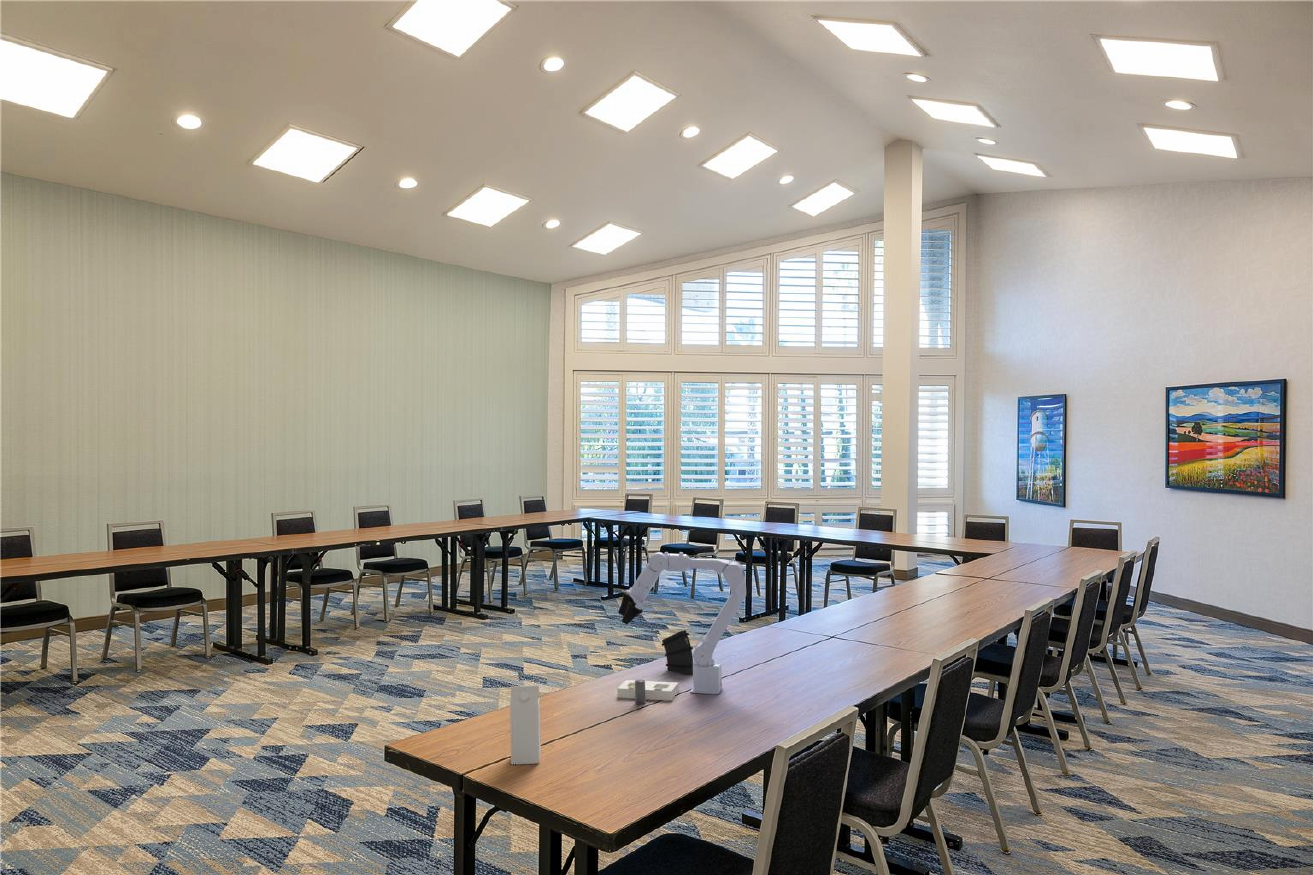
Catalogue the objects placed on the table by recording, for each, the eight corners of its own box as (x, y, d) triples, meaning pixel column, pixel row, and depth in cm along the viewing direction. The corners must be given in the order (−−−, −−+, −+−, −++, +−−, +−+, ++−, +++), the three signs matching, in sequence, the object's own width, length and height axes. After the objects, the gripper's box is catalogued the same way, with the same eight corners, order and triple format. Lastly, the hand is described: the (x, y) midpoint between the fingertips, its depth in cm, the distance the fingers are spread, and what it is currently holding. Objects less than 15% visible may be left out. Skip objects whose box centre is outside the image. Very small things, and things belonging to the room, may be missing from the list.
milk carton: (513, 755, 220) (512, 683, 221) (540, 753, 221) (539, 681, 221) (511, 765, 213) (509, 690, 214) (539, 763, 214) (537, 689, 214)
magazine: (694, 672, 293) (680, 631, 298) (670, 682, 302) (657, 642, 307) (701, 670, 296) (687, 629, 301) (677, 680, 304) (664, 640, 309)
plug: (646, 702, 265) (646, 679, 265) (643, 705, 262) (643, 682, 262) (636, 701, 266) (636, 679, 266) (634, 704, 263) (633, 682, 263)
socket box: (678, 691, 276) (678, 681, 276) (671, 700, 266) (671, 690, 266) (626, 688, 280) (626, 678, 280) (617, 697, 271) (617, 687, 271)
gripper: (630, 571, 285) (609, 605, 286) (637, 586, 271) (615, 621, 272) (647, 581, 287) (626, 614, 288) (655, 596, 273) (633, 631, 274)
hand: (622, 618), depth 280 cm, fingers open, 7 cm apart
